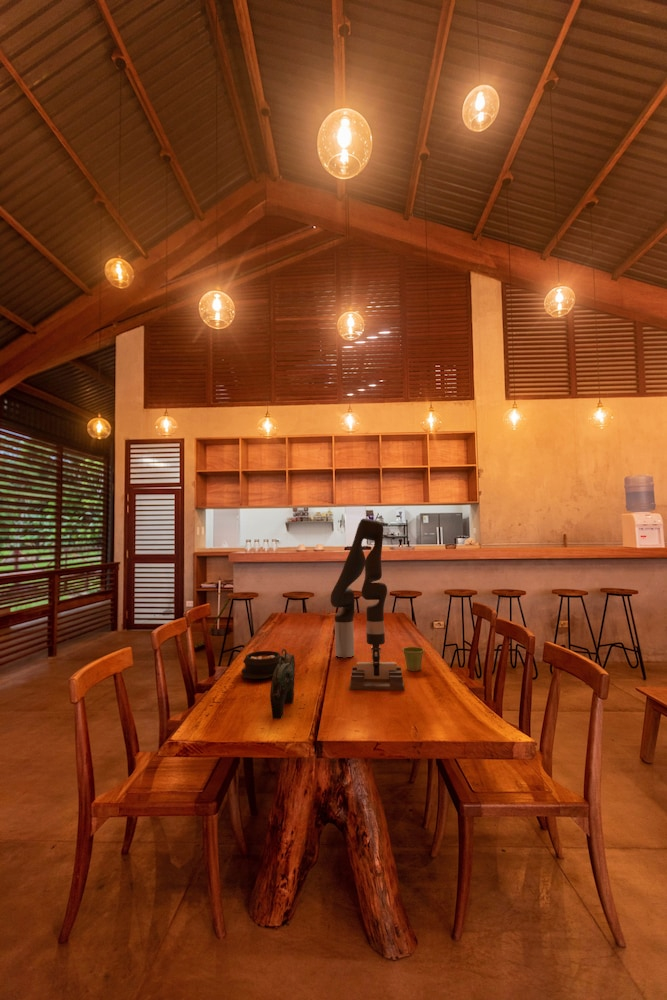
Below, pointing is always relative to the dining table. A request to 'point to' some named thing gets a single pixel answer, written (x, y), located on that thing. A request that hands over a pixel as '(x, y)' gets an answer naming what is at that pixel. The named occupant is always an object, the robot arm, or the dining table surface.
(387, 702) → the dining table surface
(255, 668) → the casserole
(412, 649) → the plant pot
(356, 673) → the dark grey holder
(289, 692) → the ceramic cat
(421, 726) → the dining table surface
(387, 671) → the clay strip
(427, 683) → the dining table surface
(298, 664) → the dining table surface
